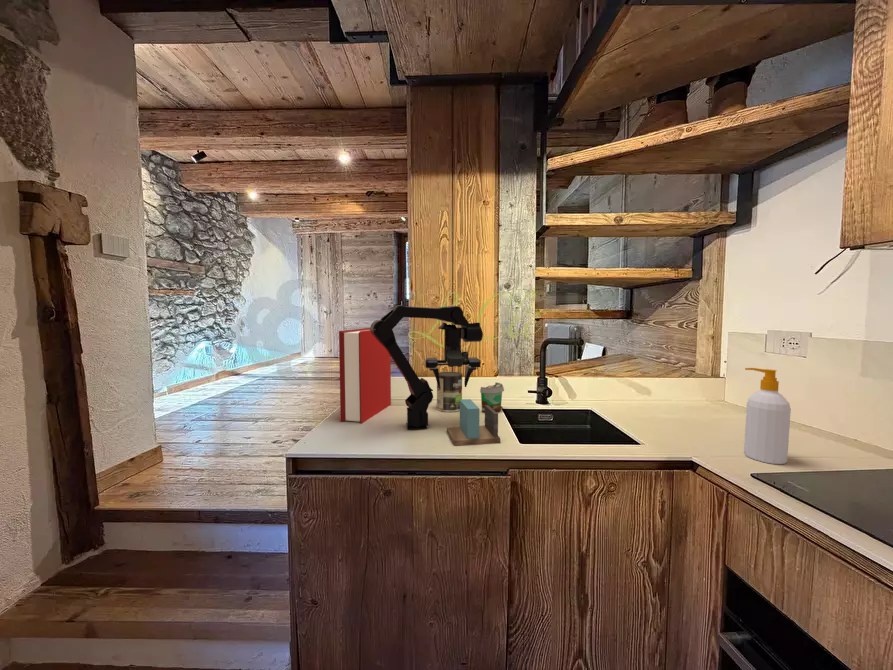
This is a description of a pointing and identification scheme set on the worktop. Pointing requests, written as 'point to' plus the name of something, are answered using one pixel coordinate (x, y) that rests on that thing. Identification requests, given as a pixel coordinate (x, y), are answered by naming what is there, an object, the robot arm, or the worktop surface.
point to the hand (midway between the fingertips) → (452, 387)
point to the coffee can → (449, 391)
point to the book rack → (486, 432)
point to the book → (363, 375)
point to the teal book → (469, 419)
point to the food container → (492, 396)
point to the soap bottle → (767, 422)
